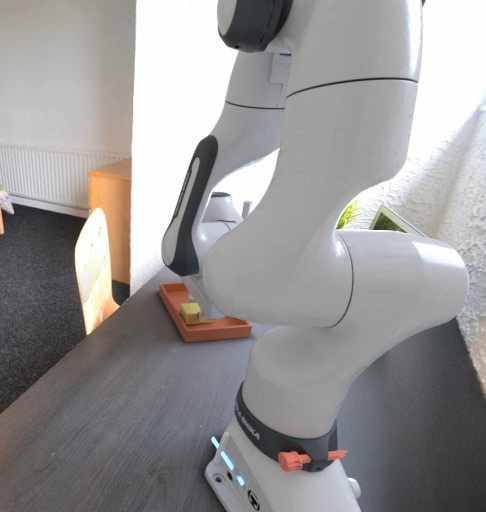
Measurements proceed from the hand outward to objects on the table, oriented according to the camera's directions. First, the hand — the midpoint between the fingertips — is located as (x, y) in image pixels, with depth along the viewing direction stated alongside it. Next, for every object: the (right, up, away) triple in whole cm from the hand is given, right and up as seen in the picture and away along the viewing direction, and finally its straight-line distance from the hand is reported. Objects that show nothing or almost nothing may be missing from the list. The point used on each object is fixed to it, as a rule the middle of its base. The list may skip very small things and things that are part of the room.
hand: (196, 312), depth 89 cm
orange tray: (+2, -1, +4) cm, 5 cm away
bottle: (+15, +5, +15) cm, 22 cm away
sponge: (0, -1, +1) cm, 2 cm away
